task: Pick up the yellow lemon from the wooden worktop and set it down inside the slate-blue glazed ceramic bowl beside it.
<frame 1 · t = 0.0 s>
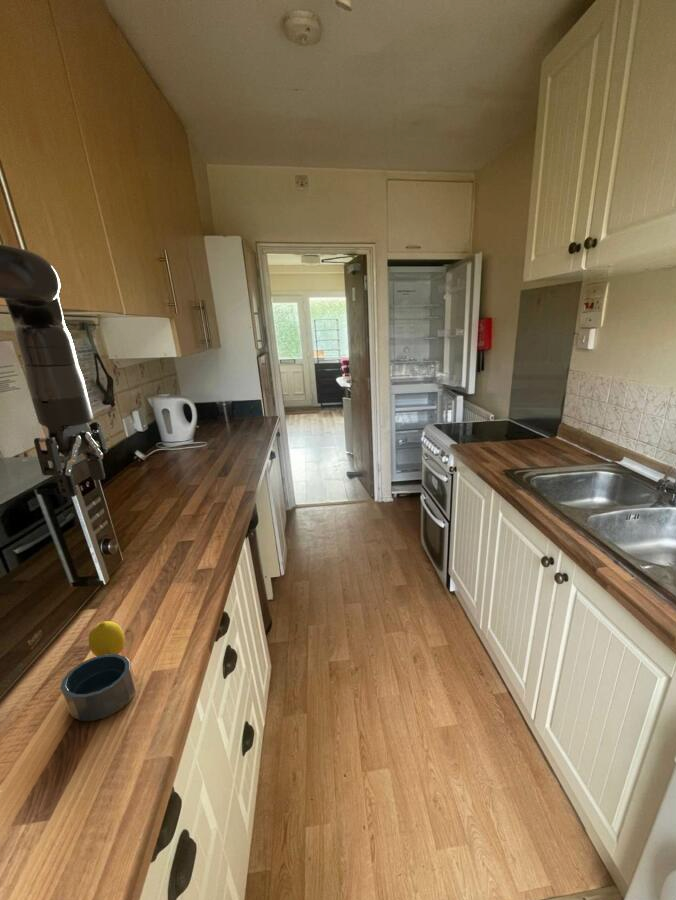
hand: (85, 487, 76), 31 cm above the table, tool pointing down, fingers open, 8 cm apart
bowl: (104, 699, 71), on the table
lemon: (112, 658, 80), on the table
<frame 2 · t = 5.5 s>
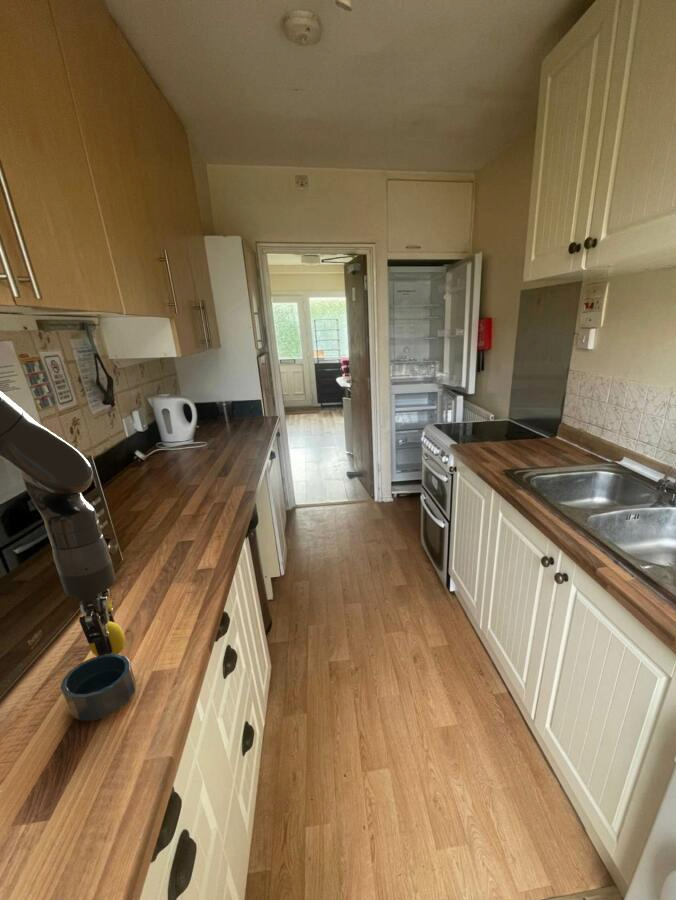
hand: (108, 642, 79), 4 cm above the table, tool pointing down, fingers closed on lemon, 5 cm apart
lemon: (112, 658, 80), on the table, touching gripper
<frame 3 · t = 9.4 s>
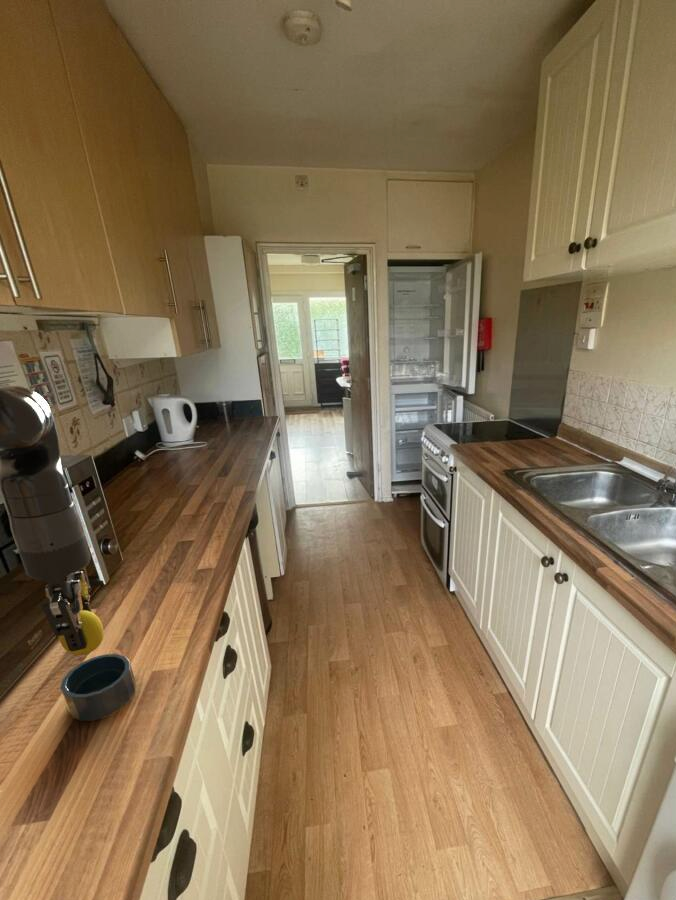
hand: (82, 635, 66), 13 cm above the table, tool pointing down, fingers closed on lemon, 5 cm apart
lemon: (88, 654, 67), point 10 cm above the table, touching gripper
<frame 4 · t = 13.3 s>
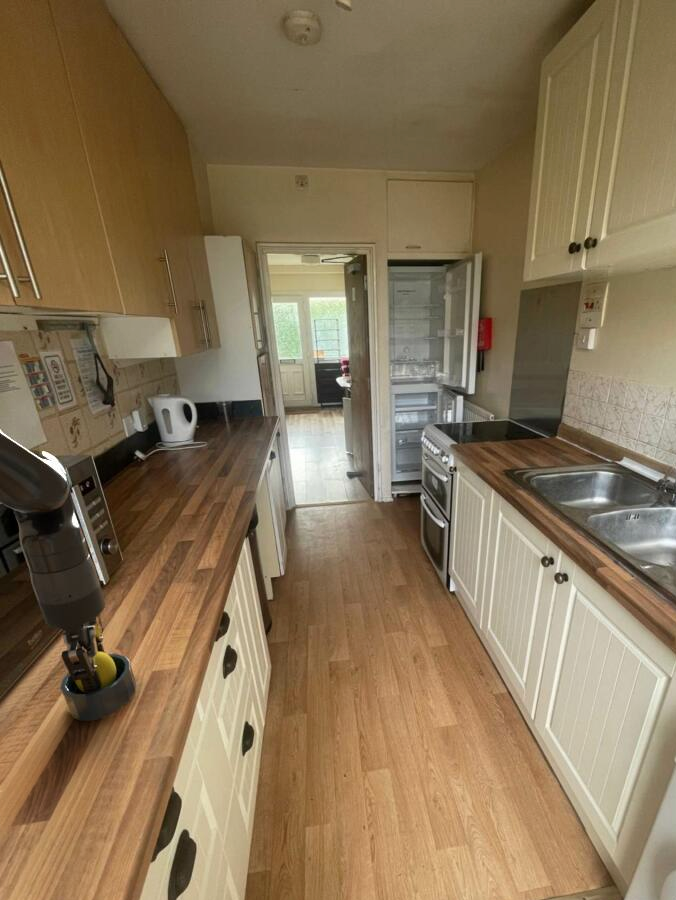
hand: (96, 675, 69), 5 cm above the table, tool pointing down, fingers closed on lemon, 5 cm apart
lemon: (102, 692, 70), point 1 cm above the table, touching gripper
when the fingers open (6 cm above the table, at t = 17.9 s): lemon drops 2 cm, resting on bowl.
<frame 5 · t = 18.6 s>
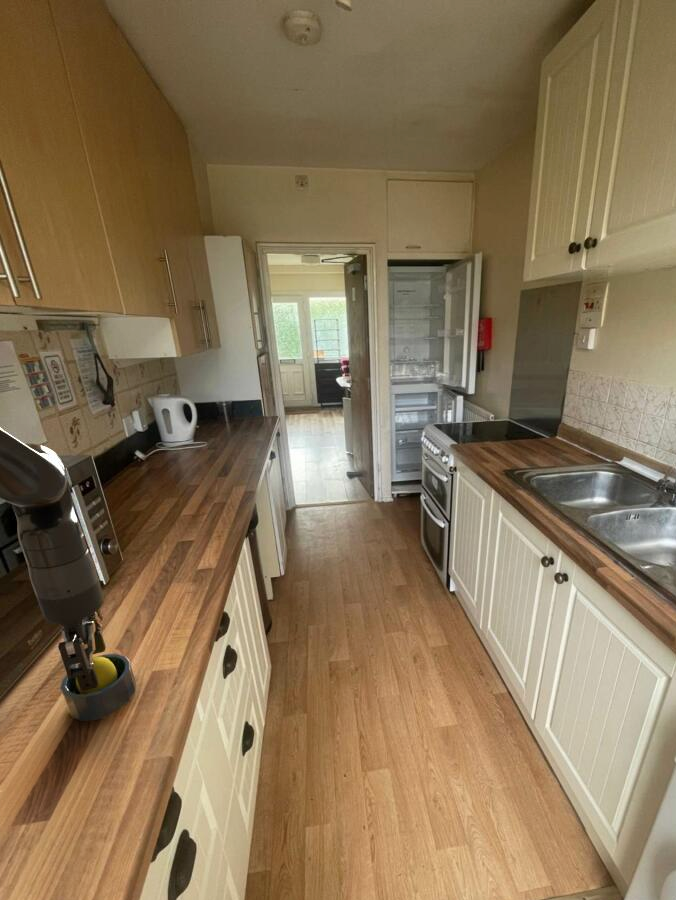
hand: (94, 668, 68), 7 cm above the table, tool pointing down, fingers open, 8 cm apart
lemon: (103, 697, 71), resting on bowl
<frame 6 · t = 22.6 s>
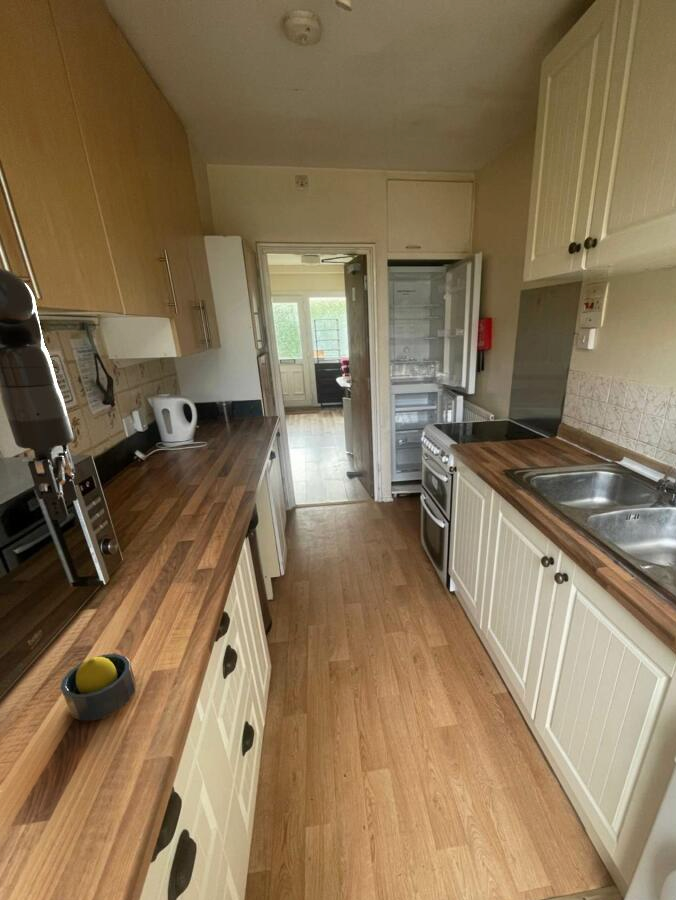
hand: (66, 509, 73), 28 cm above the table, tool pointing down, fingers open, 8 cm apart
nothing on the table moved.
at the end: lemon 0.1 cm off-centre in the bowl, point 0.4 cm above the bowl's base; the gripper is holding nothing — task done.
